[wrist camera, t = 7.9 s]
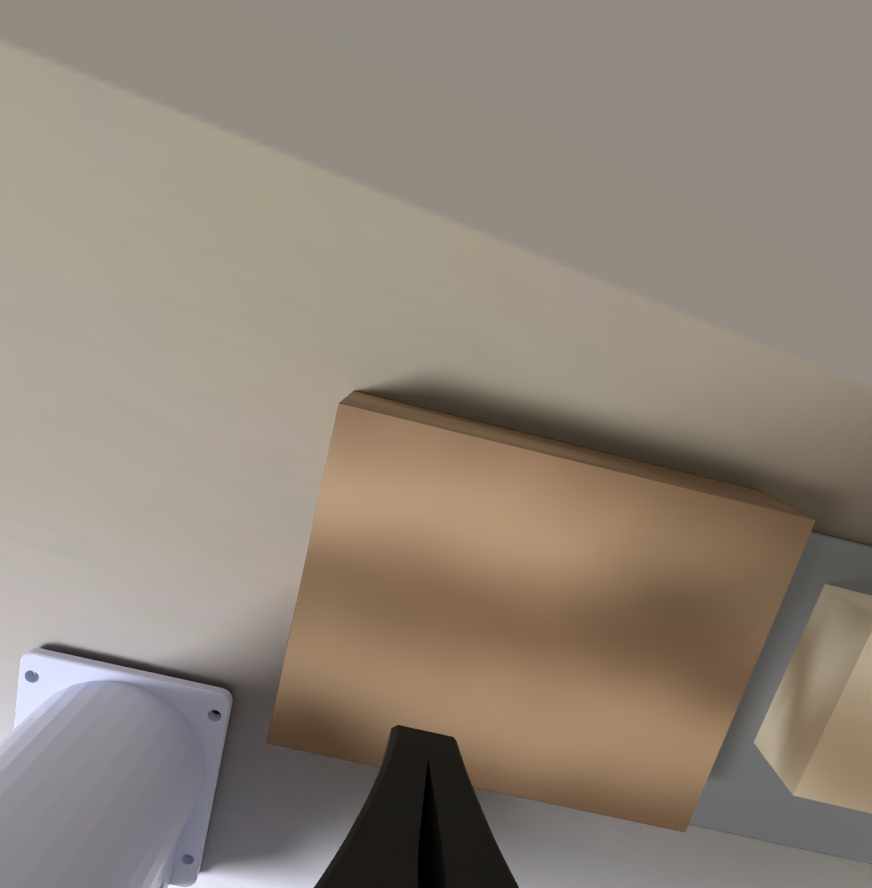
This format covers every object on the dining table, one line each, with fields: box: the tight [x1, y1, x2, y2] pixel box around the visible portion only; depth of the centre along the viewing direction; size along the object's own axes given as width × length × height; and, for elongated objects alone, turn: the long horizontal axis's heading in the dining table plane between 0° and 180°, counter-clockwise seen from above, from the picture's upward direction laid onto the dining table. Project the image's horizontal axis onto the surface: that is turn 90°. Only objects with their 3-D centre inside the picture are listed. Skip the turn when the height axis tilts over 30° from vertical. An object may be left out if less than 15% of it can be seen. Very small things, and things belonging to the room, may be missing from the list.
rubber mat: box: [688, 531, 872, 864], centre depth 22 cm, size 13×12×1 cm
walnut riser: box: [267, 391, 816, 832], centre depth 20 cm, size 12×15×3 cm
